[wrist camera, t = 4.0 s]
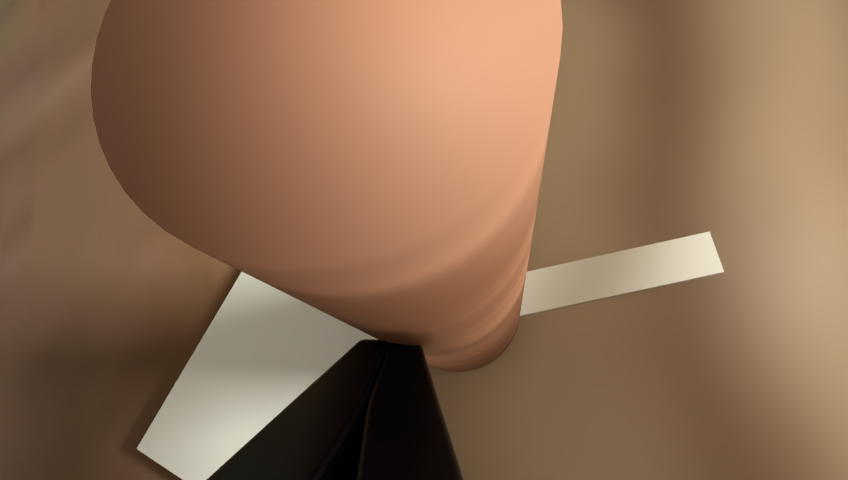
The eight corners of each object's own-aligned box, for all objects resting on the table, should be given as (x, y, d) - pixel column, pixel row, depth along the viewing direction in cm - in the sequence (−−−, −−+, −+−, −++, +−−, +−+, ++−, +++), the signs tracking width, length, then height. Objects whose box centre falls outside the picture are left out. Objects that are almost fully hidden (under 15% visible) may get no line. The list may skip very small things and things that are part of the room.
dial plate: (1017, 1021, 11) (1081, 1098, 10) (153, 446, 16) (124, 450, 15) (1250, 89, 15) (1317, 61, 14) (493, -130, 20) (492, -164, 19)
